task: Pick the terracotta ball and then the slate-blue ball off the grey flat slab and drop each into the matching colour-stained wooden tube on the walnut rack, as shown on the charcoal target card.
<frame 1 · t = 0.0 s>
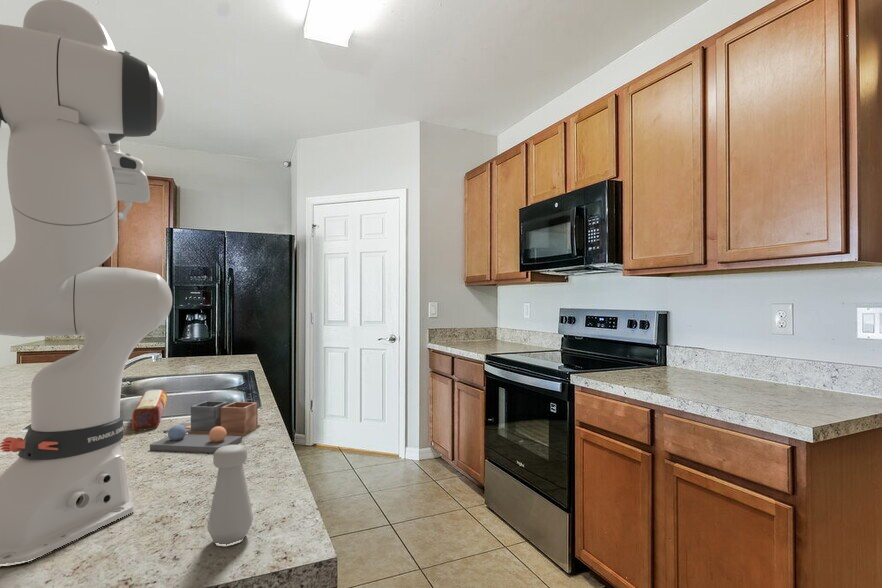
hand: (97, 217, 103), 52 cm above the worktop, tool tilted 20°, fingers open, 8 cm apart
salt shaker: (230, 540, 64), on the worktop
grey flat slab: (197, 445, 104), on the worktop
ball blue: (177, 432, 104), point 3 cm above the worktop, touching grey flat slab
snack package: (151, 421, 125), on the worktop
ball terracotta: (217, 434, 103), point 3 cm above the worktop, touching grey flat slab
target card: (184, 428, 117), on the worktop
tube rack: (224, 430, 115), on the worktop
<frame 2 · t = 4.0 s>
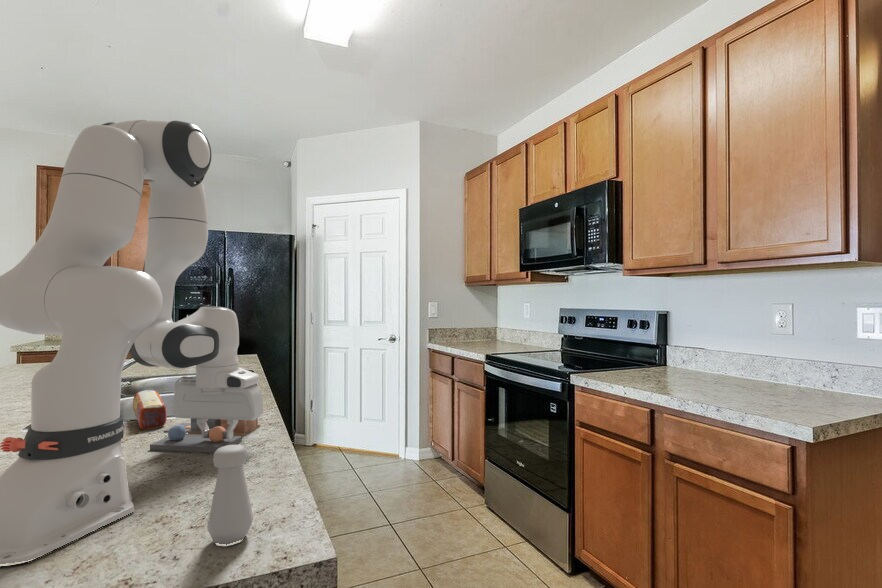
hand: (217, 437, 103), 2 cm above the worktop, tool pointing down, fingers closed on ball terracotta, 4 cm apart
ball terracotta: (217, 434, 103), point 3 cm above the worktop, touching gripper, grey flat slab
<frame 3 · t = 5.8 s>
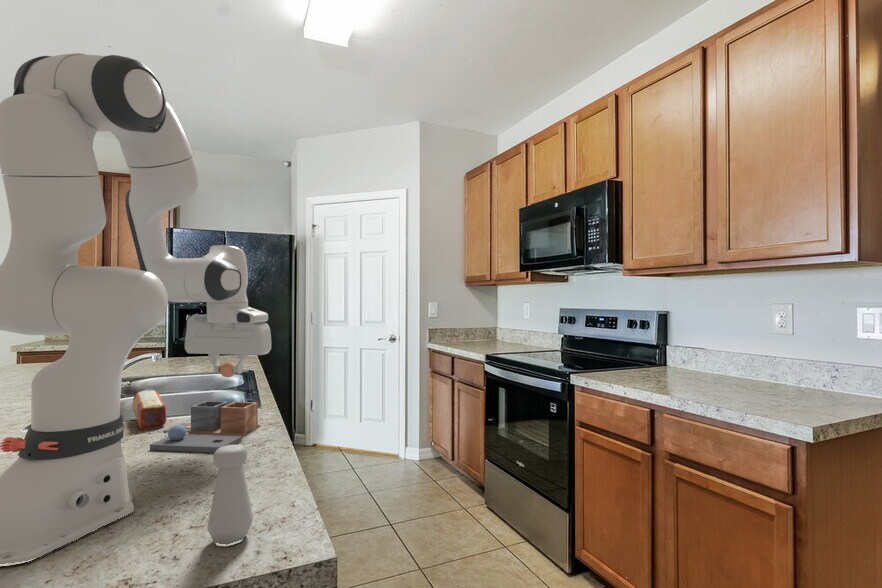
hand: (228, 372, 107), 16 cm above the worktop, tool pointing down, fingers closed on ball terracotta, 4 cm apart
ball terracotta: (228, 369, 107), point 17 cm above the worktop, touching gripper
everything else where it was.
when the fingers open (8 cm above the worktop, at t = 7.6 s): ball terracotta drops 7 cm, resting on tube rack.
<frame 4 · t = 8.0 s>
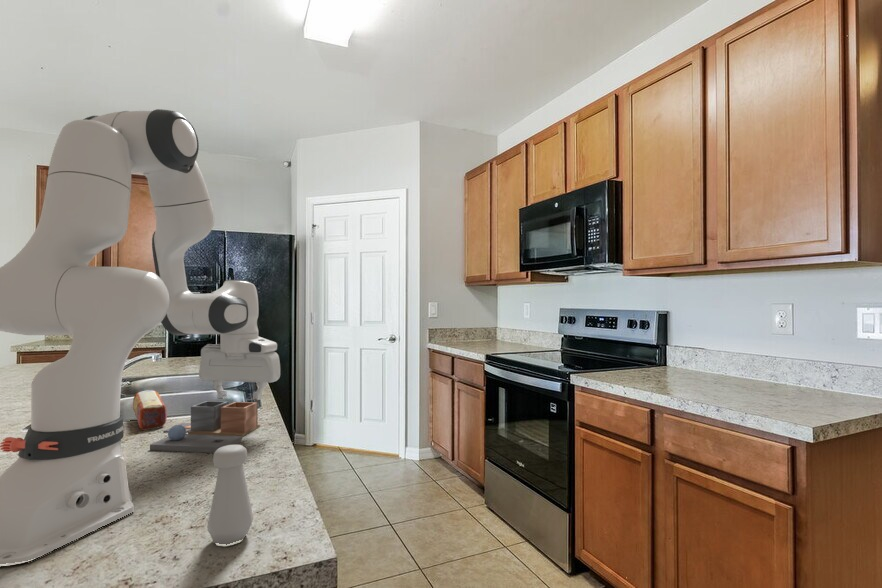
hand: (239, 399, 115), 8 cm above the worktop, tool pointing down, fingers open, 8 cm apart
ball terracotta: (240, 421, 115), point 2 cm above the worktop, tilted 11°, touching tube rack
everything else where it was.
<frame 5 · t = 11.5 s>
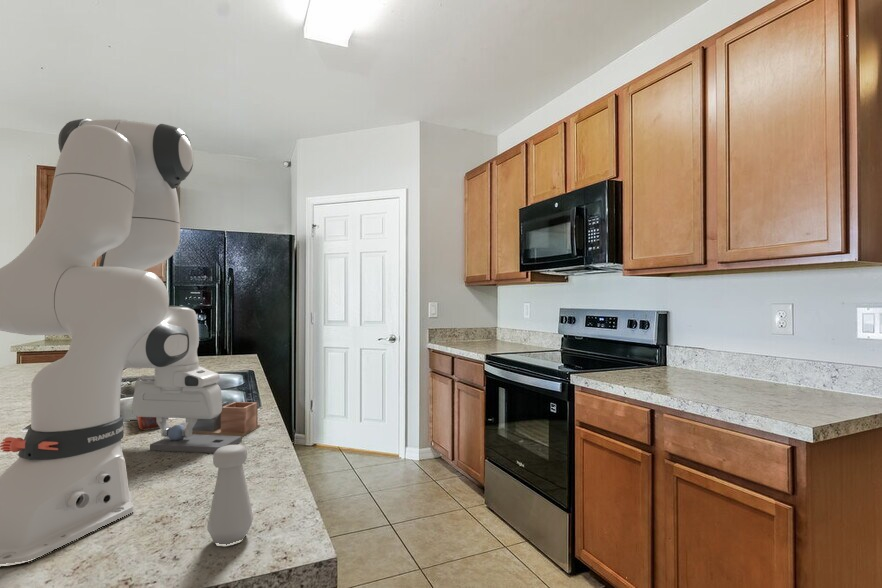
hand: (176, 436, 104), 2 cm above the worktop, tool pointing down, fingers closed on ball blue, 4 cm apart
ball blue: (177, 432, 104), point 3 cm above the worktop, touching gripper, grey flat slab
everything else where it was.
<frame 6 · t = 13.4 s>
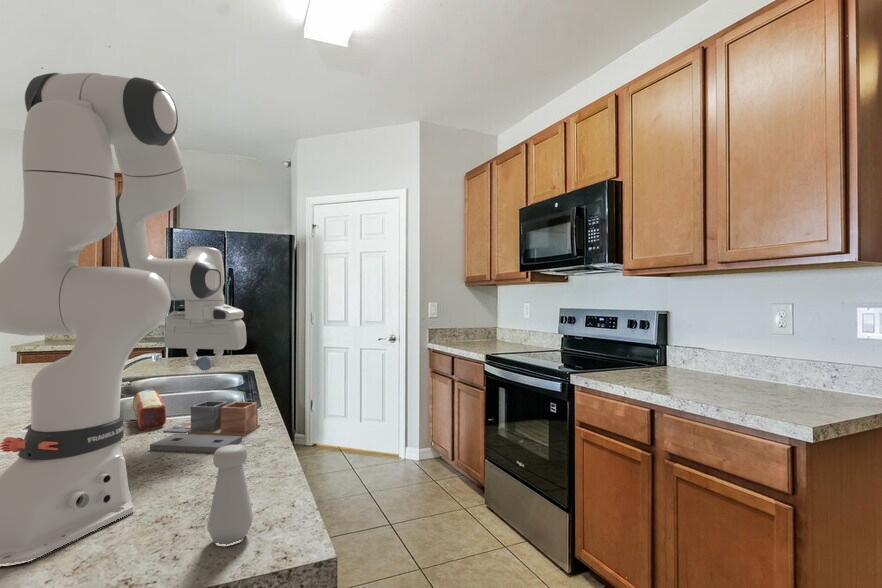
hand: (205, 366, 114), 16 cm above the worktop, tool pointing down, fingers closed on ball blue, 4 cm apart
ball blue: (205, 363, 114), point 17 cm above the worktop, touching gripper
ball terracotta: (239, 421, 115), point 2 cm above the worktop, touching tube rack
everything else where it was.
when the fingers open (8 cm above the worktop, at t = 14.9 s): ball blue drops 7 cm, resting on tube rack.
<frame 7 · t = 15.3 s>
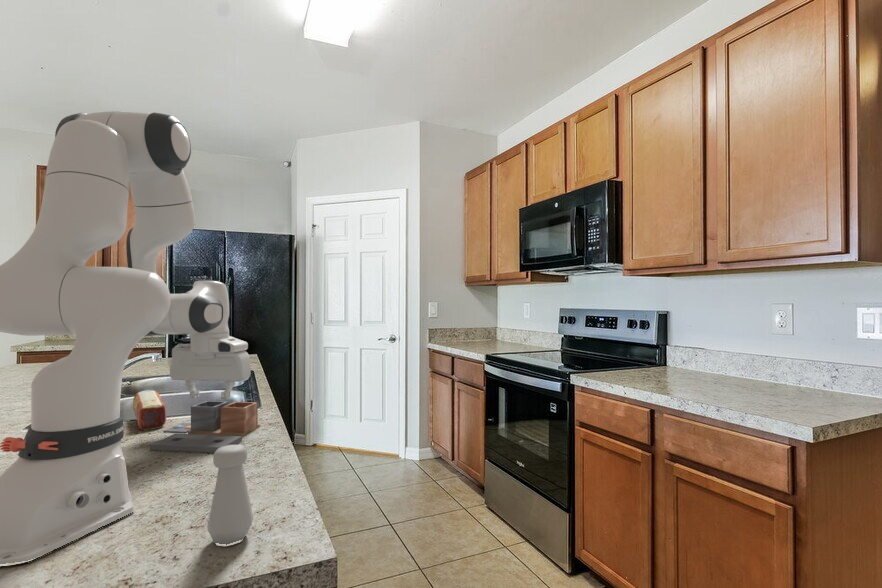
hand: (210, 398, 115), 8 cm above the worktop, tool pointing down, fingers open, 7 cm apart
ball blue: (210, 420, 115), point 2 cm above the worktop, tilted 9°, touching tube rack
everything else where it was.
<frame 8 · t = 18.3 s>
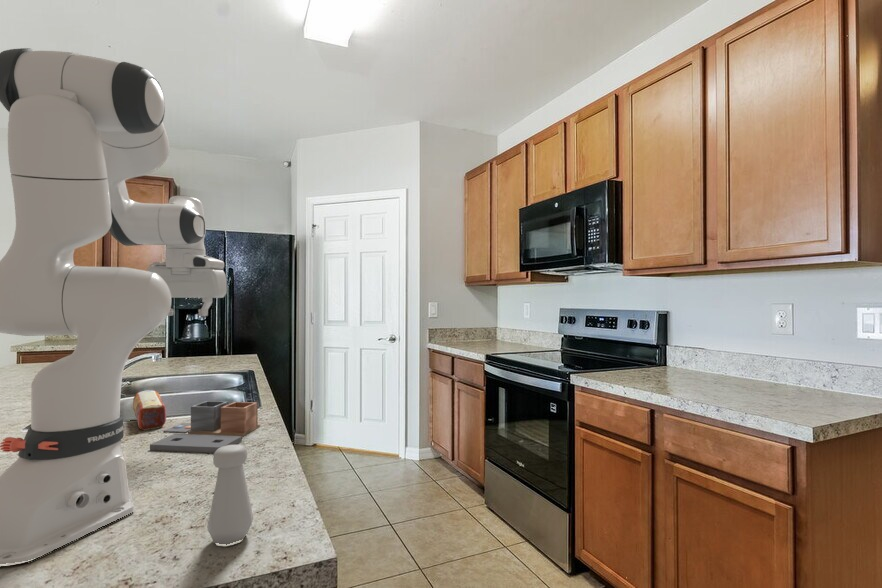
hand: (185, 315, 115), 29 cm above the worktop, tool pointing down, fingers open, 8 cm apart
ball terracotta: (237, 421, 115), point 2 cm above the worktop, tilted 17°, touching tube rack
everything else where it was.
at the end: ball terracotta 0.6 cm from the target spot on the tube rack, point 2.4 cm above the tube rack's base; ball blue 0.1 cm from the target spot on the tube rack, point 2.4 cm above the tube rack's base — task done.
